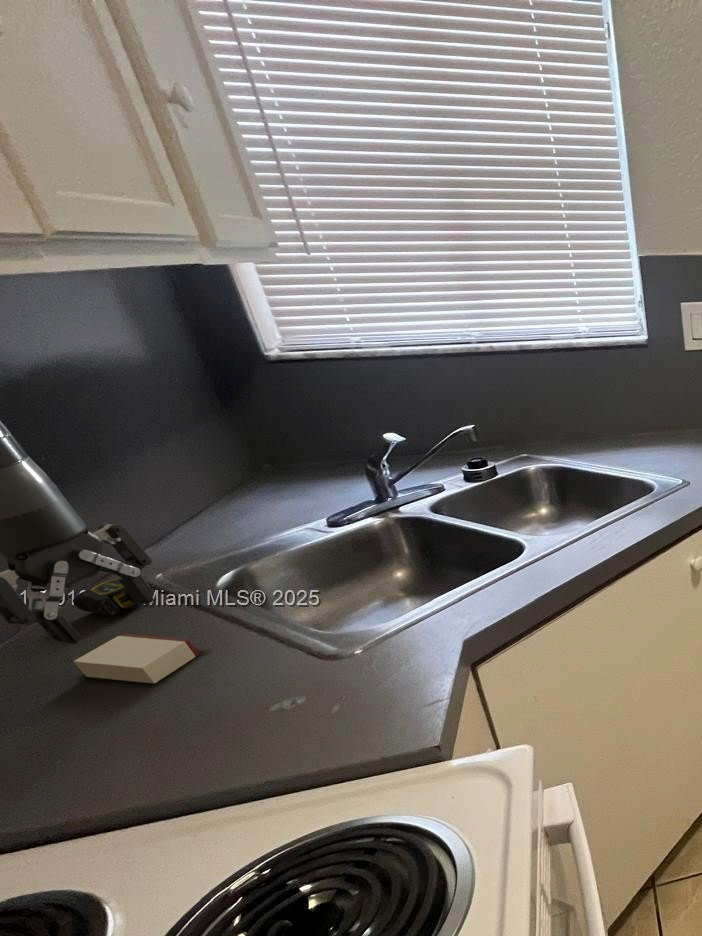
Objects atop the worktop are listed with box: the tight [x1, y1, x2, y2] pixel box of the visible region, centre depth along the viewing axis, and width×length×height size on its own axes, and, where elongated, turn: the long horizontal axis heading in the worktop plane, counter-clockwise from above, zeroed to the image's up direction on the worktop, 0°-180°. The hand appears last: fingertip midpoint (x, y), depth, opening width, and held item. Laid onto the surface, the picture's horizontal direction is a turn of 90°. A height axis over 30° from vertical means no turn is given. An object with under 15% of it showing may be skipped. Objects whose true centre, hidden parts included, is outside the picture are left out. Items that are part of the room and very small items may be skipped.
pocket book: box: [73, 633, 200, 684], centre depth 82 cm, size 11×6×3 cm, turn 80°
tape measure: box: [72, 576, 139, 617], centre depth 95 cm, size 7×7×4 cm
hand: (111, 621), depth 79 cm, fingers open, 8 cm apart
